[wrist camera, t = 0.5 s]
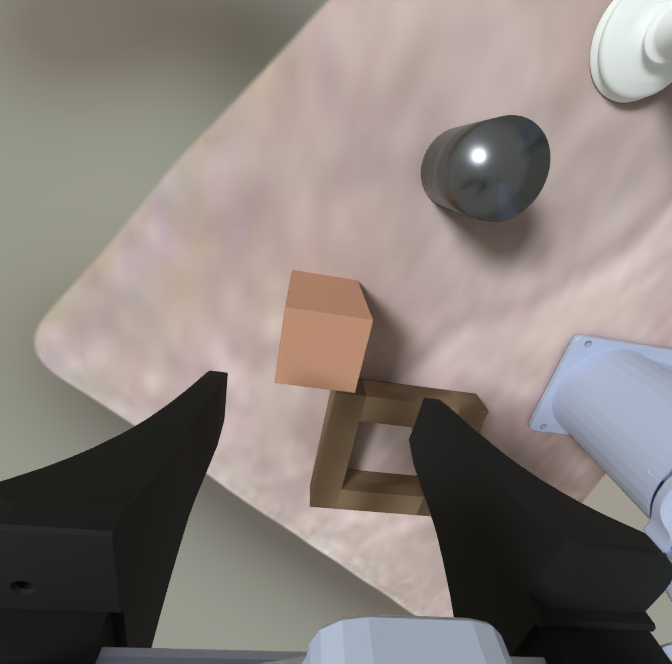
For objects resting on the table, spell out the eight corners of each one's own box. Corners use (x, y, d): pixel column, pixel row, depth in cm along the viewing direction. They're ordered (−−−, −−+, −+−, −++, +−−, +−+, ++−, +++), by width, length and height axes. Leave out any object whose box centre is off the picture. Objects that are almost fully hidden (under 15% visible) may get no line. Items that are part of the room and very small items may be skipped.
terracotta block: (357, 280, 22) (373, 320, 16) (344, 339, 23) (354, 392, 18) (291, 269, 21) (285, 306, 16) (283, 330, 23) (274, 382, 17)
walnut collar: (475, 393, 26) (488, 411, 24) (432, 495, 30) (440, 516, 28) (333, 375, 24) (335, 392, 23) (310, 484, 29) (309, 506, 27)
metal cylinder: (505, 135, 19) (567, 127, 14) (479, 214, 20) (526, 229, 16) (433, 118, 18) (473, 104, 14) (412, 200, 20) (441, 212, 15)
